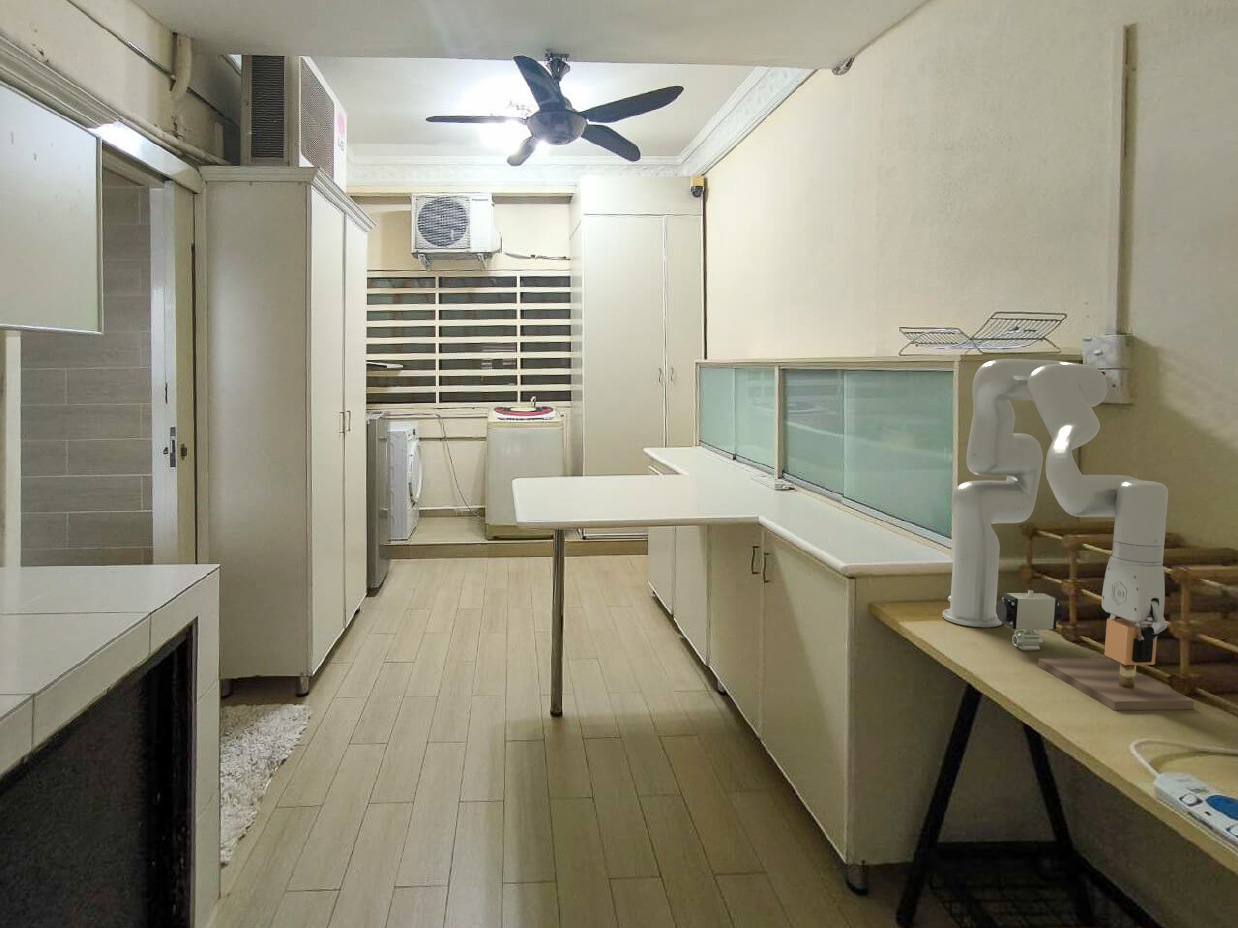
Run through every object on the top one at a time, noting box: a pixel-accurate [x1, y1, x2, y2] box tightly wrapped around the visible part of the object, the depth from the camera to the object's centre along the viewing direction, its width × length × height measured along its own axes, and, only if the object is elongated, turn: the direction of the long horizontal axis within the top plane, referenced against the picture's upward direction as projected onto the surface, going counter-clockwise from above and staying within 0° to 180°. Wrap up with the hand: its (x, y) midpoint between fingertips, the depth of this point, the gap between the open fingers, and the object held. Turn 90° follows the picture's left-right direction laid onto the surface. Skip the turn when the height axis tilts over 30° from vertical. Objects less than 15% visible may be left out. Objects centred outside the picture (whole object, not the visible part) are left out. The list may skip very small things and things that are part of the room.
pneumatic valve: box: [995, 589, 1064, 652], centre depth 177 cm, size 6×12×12 cm, turn 93°
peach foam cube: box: [1104, 618, 1158, 666], centre depth 151 cm, size 5×5×6 cm
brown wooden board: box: [1037, 657, 1195, 711], centre depth 156 cm, size 22×14×6 cm, turn 6°
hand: (1129, 655), depth 151 cm, fingers closed on peach foam cube, 5 cm apart
